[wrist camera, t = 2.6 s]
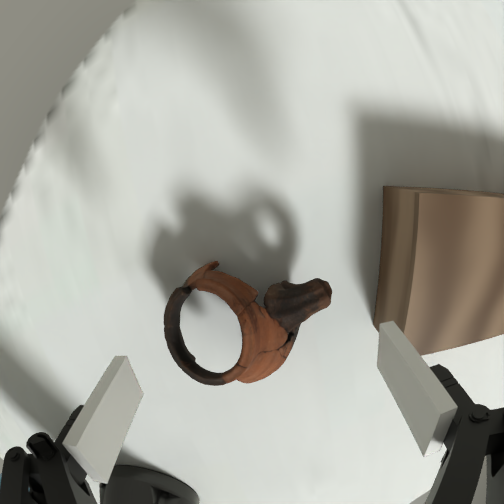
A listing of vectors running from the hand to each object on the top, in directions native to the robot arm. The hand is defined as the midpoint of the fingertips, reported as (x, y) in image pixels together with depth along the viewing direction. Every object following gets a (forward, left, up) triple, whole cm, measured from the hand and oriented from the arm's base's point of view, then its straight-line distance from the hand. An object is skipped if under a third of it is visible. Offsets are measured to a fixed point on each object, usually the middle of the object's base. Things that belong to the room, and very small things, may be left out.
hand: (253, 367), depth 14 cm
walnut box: (+20, 0, -10) cm, 22 cm away
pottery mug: (0, -1, -10) cm, 10 cm away
